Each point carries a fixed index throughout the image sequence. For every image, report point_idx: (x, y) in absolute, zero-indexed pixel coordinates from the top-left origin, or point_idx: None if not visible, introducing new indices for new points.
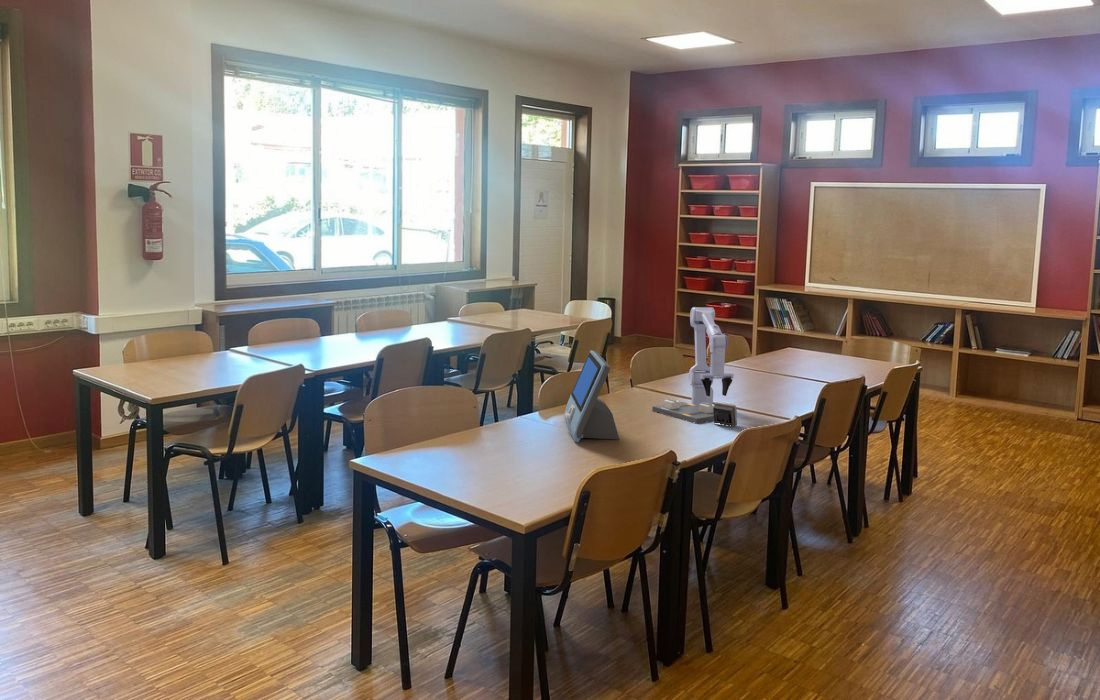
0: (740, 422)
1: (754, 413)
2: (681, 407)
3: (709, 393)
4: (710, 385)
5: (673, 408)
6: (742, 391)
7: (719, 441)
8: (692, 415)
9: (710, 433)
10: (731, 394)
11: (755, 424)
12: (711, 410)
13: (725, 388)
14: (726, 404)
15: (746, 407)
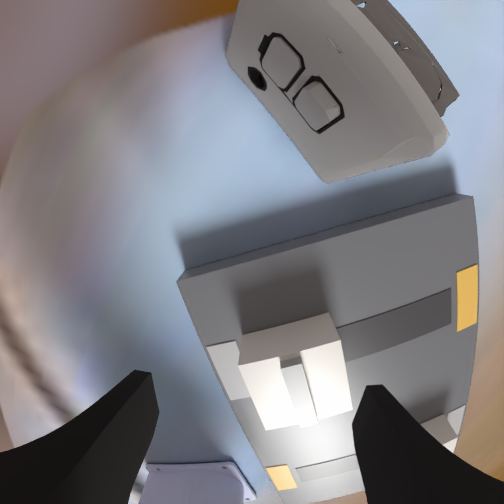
0: (149, 139)
1: (13, 315)
2: None
3: (388, 404)
4: (436, 484)
5: (433, 421)
6: None
7: None
8: (448, 285)
9: (459, 2)
10: None
11: (92, 82)
12: (284, 333)
13: (111, 441)
14: (351, 3)
15: (29, 401)
